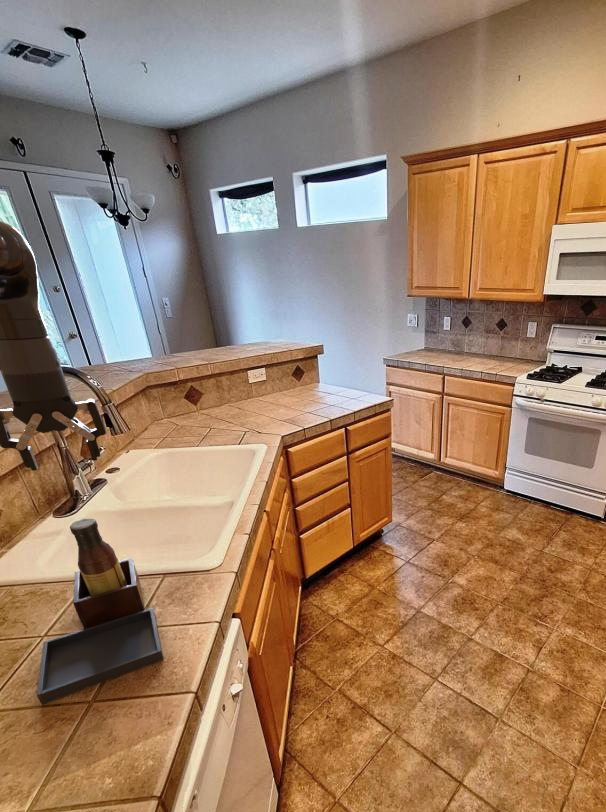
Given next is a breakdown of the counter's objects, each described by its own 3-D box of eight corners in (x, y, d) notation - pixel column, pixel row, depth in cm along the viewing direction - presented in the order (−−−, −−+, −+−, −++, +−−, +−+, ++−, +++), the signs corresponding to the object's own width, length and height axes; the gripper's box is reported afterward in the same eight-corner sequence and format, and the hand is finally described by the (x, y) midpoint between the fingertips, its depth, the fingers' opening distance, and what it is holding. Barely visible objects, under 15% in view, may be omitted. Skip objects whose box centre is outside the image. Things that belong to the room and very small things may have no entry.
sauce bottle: (114, 594, 91) (85, 511, 82) (140, 598, 90) (113, 515, 81) (88, 614, 85) (54, 528, 76) (115, 619, 84) (83, 532, 75)
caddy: (84, 632, 81) (73, 603, 78) (85, 599, 89) (74, 572, 86) (145, 613, 86) (136, 585, 83) (140, 584, 94) (132, 557, 91)
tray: (41, 705, 67) (36, 695, 66) (47, 650, 77) (43, 641, 76) (163, 659, 75) (161, 650, 74) (155, 615, 85) (152, 607, 84)
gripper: (85, 361, 74) (112, 450, 81) (-25, 368, 66) (16, 465, 74) (85, 368, 68) (114, 463, 75) (-35, 376, 61) (10, 480, 68)
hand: (66, 464), depth 74 cm, fingers open, 8 cm apart
